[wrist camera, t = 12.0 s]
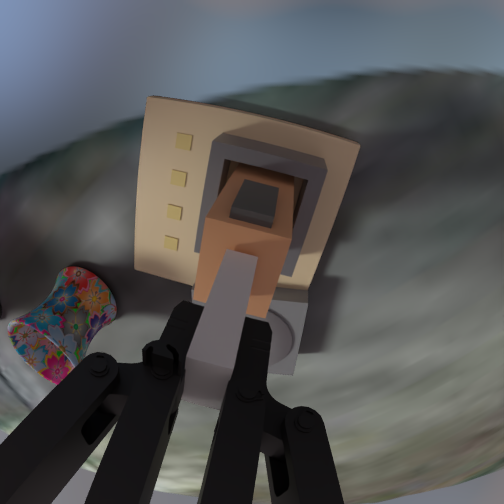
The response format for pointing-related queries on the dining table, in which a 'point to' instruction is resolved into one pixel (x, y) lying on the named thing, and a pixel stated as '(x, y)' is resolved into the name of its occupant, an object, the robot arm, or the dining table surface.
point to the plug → (249, 231)
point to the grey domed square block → (283, 327)
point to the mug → (63, 324)
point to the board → (217, 175)
